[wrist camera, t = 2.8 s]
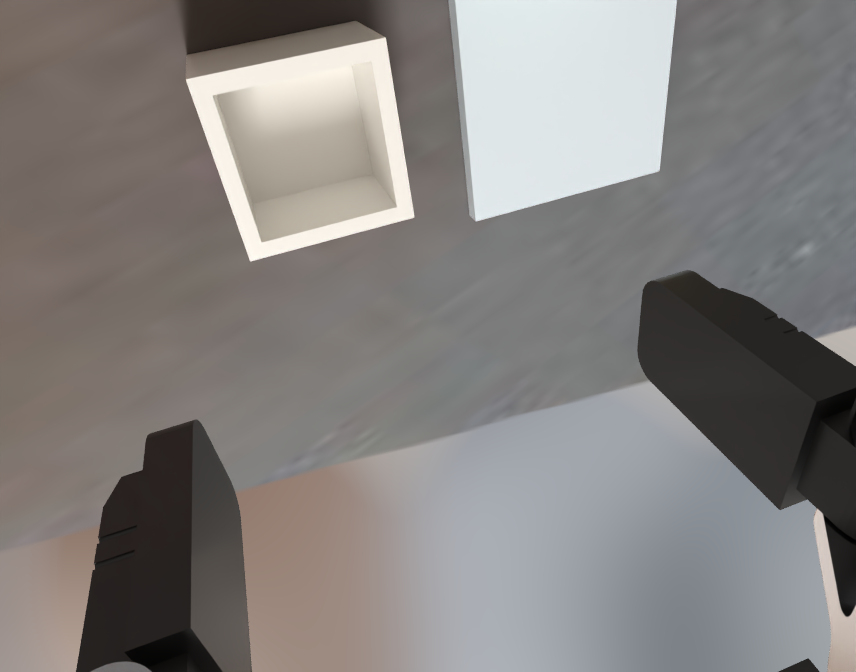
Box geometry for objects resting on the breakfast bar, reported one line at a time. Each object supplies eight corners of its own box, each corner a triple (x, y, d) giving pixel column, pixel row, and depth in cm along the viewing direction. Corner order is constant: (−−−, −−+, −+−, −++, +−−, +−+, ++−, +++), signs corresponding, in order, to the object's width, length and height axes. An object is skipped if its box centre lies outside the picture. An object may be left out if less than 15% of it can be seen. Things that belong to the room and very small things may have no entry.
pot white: (355, 20, 23) (385, 37, 19) (384, 179, 27) (414, 217, 23) (186, 55, 22) (185, 79, 18) (242, 215, 26) (250, 261, 22)
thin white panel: (670, -66, 25) (683, -66, 24) (649, 166, 31) (659, 171, 30) (446, -22, 23) (453, -21, 22) (469, 215, 29) (475, 221, 28)
